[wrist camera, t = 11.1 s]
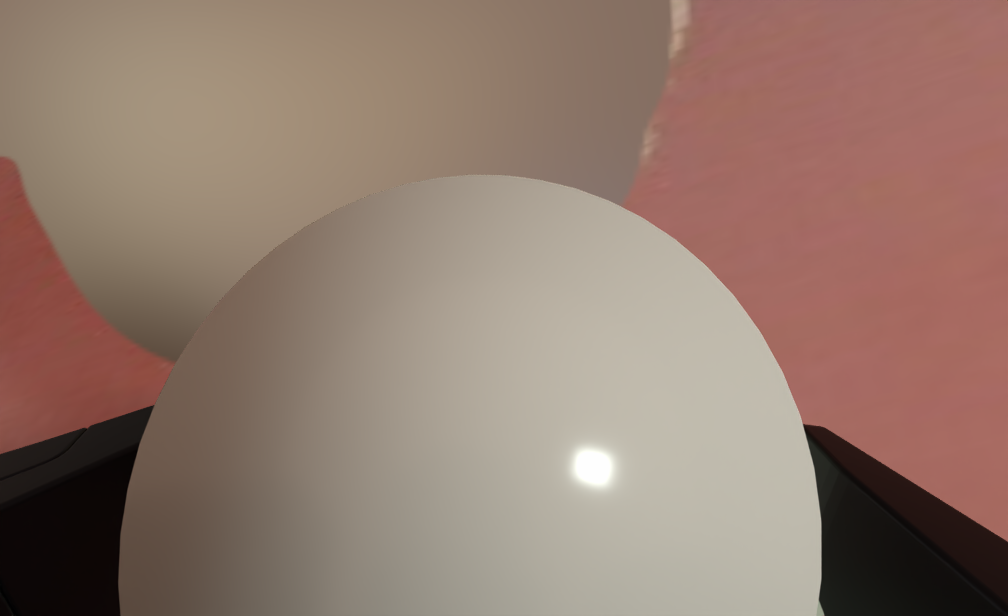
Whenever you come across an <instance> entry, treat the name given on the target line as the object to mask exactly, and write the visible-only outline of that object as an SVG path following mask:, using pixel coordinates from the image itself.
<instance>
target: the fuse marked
mask: <svg viewBox="0 0 1008 616" xmlns="http://www.w3.org/2000/svg"><path fill="white" fill-rule="evenodd" d="M820 585H821V515H820V508H819V500H818V493H817V485H816V478H815V470H814V465H813V461H812V457H811V454H810V450H809V446H808V442H807V439H806V435H805V431H804V427H803V424H802V420H801V417H800V414H799V412H798V409H797V407H796V404H795V402H794V399H793V397H792V394H791V392H790V389H789V387H788V384H787V382H786V379H785V377H784V374H783V372H782V370H781V368H780V367H779V365H778V363H777V361H776V359H775V358H774V356H773V354H772V352H771V350H770V349H769V347H768V345H767V343H766V341H765V340H764V338H763V336H762V334H761V332H760V331H759V330H758V328H757V327H756V325H755V324H754V323H753V321H752V320H751V319H750V317H749V316H748V314H747V313H746V312H745V310H744V309H743V308H742V306H741V305H740V303H739V302H738V301H737V299H736V298H735V297H734V295H733V294H732V293H731V292H730V291H729V290H728V289H727V288H726V287H725V286H724V285H723V283H722V282H721V281H720V280H719V279H718V278H717V277H716V276H715V275H714V274H713V273H712V272H711V271H710V270H709V268H708V267H707V266H706V265H705V264H704V263H702V262H701V261H700V260H699V259H698V258H696V257H695V256H694V255H693V254H692V253H691V252H689V251H688V250H687V249H686V248H685V247H683V246H682V245H681V244H680V243H679V242H678V241H676V240H675V239H674V238H672V237H671V236H669V235H668V234H666V233H665V232H663V231H662V230H660V229H659V228H657V227H656V226H654V225H653V224H651V223H650V222H648V221H647V220H645V219H644V218H642V217H640V216H638V215H636V214H634V213H632V212H630V211H628V210H626V209H624V208H622V207H620V206H618V205H616V204H614V203H612V202H610V201H608V200H606V199H603V198H600V197H597V196H595V195H592V194H589V193H586V192H584V191H581V190H578V189H575V188H572V187H568V186H564V185H560V184H555V183H551V182H547V181H542V180H538V179H529V178H522V177H514V176H506V175H464V176H453V177H442V178H434V179H429V180H424V181H419V182H415V183H409V184H405V185H400V186H397V187H394V188H391V189H388V190H384V191H381V192H378V193H375V194H372V195H369V196H367V197H364V198H362V199H360V200H357V201H355V202H353V203H350V204H348V205H346V206H343V207H341V208H339V209H336V210H335V211H333V212H331V213H329V214H327V215H326V216H324V217H322V218H320V219H319V220H317V221H315V222H313V223H311V224H310V225H308V226H306V227H304V228H303V229H302V230H300V231H299V232H297V233H296V234H294V235H293V236H292V237H290V238H289V239H288V240H286V241H285V242H283V243H282V244H280V245H279V246H277V247H276V248H275V249H273V251H271V252H270V253H269V254H268V255H267V256H265V257H264V258H263V259H262V260H261V261H259V262H258V263H257V264H256V265H255V266H254V267H252V268H251V269H250V270H249V271H248V272H247V273H246V274H245V275H244V276H243V277H242V278H241V279H240V280H239V281H238V282H237V283H236V284H235V285H234V286H233V287H232V288H231V289H230V291H229V292H228V293H227V294H226V295H225V296H224V297H223V298H222V299H221V300H220V301H219V303H218V304H217V305H216V306H215V308H214V309H213V310H212V311H211V313H210V314H209V315H208V317H207V318H206V319H205V320H204V322H203V323H202V324H201V326H200V327H199V328H198V329H197V331H196V332H195V334H194V335H193V337H192V339H191V340H190V342H189V343H188V345H187V346H186V348H185V349H184V351H183V353H182V354H181V356H180V357H179V359H178V360H177V362H176V364H175V365H174V367H173V369H172V371H171V373H170V375H169V377H168V379H167V381H166V383H165V385H164V387H163V389H162V391H161V393H160V395H159V397H158V399H157V401H156V403H155V405H154V408H153V411H152V413H151V416H150V418H149V421H148V424H147V426H146V429H145V431H144V434H143V437H142V439H141V442H140V445H139V448H138V452H137V456H136V460H135V463H134V467H133V471H132V474H131V478H130V482H129V486H128V490H127V497H126V503H125V509H124V516H123V522H122V528H121V535H120V557H119V579H118V587H119V601H120V615H121V616H816V615H817V607H818V600H819V592H820Z"/></svg>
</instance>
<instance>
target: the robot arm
mask: <svg viewBox="0 0 1008 616" xmlns="http://www.w3.org/2000/svg"><path fill="white" fill-rule="evenodd" d="M153 408H154V405H153V406H150V407H147V408H144V409H140V410H137V411H134V412H131V413H128V414H125V415H122V416H119V417H116V418H113V419H110V420H107V421H104V422H101V423H97V424H94V425H91V426H90V427H89V428H88V429H87V428H82V429H79V430H76V431H73V432H70V433H67V434H63V435H60V436H57V437H54V438H51V439H48V440H45V441H41V442H38V443H35V444H32V445H29V446H25V447H22V448H19V449H16V450H13V451H9V452H6V453H3V454H0V616H121V615H120V601H119V587H118V579H119V557H120V535H121V528H122V522H123V516H124V509H125V503H126V497H127V490H128V486H129V482H130V478H131V474H132V471H133V467H134V463H135V460H136V456H137V452H138V448H139V445H140V442H141V439H142V437H143V434H144V431H145V429H146V426H147V424H148V421H149V418H150V416H151V413H152V411H153ZM803 427H804V431H805V435H806V439H807V442H808V446H809V450H810V454H811V457H812V461H813V465H814V470H815V478H816V485H817V493H818V500H819V508H820V515H821V585H820V592H819V602H820V605H821V607H822V610H823V613H824V615H825V616H1008V542H1007V541H1006V540H1004V539H1002V538H1001V537H999V536H998V535H996V534H994V533H993V532H991V531H990V530H988V529H986V528H985V527H983V526H982V525H980V524H978V523H977V522H975V521H974V520H972V519H970V518H969V517H967V516H966V515H964V514H962V513H961V512H959V511H958V510H956V509H954V508H953V507H951V506H950V505H948V504H946V503H945V502H943V501H942V500H940V499H938V498H937V497H935V496H934V495H932V494H930V493H929V492H927V491H926V490H924V489H922V488H921V487H919V486H918V485H916V484H914V483H913V482H911V481H910V480H908V479H906V478H905V477H903V476H902V475H900V474H898V473H897V472H895V471H893V470H892V469H890V468H889V467H887V466H885V465H884V464H882V463H881V462H879V461H877V460H876V459H874V458H873V457H871V456H869V455H868V454H866V453H865V452H863V451H861V450H860V449H858V448H857V447H855V446H853V445H852V444H850V443H849V442H847V441H845V440H844V439H842V438H841V437H839V436H837V435H836V434H834V433H833V432H831V431H829V430H828V429H826V428H824V427H821V426H814V425H805V424H803Z"/></svg>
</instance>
